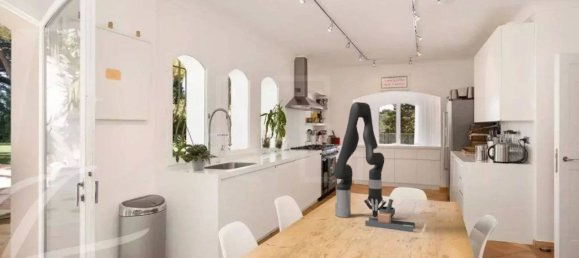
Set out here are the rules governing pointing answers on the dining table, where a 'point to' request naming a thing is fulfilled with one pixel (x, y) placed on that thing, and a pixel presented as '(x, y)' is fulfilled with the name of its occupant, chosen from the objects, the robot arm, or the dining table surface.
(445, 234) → the dining table surface
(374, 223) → the chute
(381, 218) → the terracotta block
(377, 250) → the dining table surface
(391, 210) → the mortar and pestle
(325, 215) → the dining table surface
